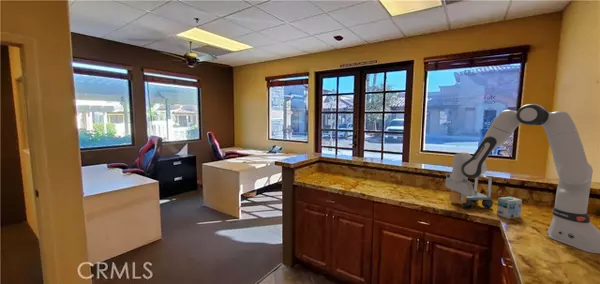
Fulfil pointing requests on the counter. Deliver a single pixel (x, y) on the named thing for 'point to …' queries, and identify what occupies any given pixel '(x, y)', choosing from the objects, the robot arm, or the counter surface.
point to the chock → (456, 197)
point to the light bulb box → (509, 207)
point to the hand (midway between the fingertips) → (457, 198)
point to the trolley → (479, 195)
